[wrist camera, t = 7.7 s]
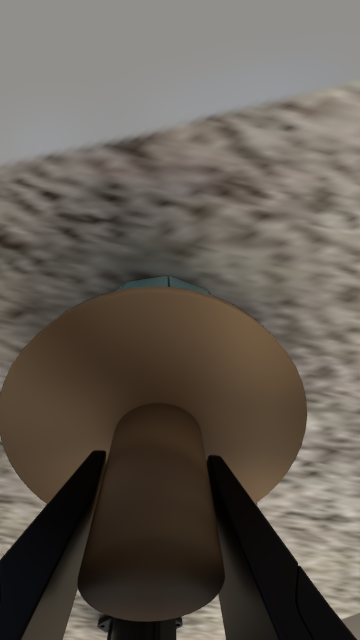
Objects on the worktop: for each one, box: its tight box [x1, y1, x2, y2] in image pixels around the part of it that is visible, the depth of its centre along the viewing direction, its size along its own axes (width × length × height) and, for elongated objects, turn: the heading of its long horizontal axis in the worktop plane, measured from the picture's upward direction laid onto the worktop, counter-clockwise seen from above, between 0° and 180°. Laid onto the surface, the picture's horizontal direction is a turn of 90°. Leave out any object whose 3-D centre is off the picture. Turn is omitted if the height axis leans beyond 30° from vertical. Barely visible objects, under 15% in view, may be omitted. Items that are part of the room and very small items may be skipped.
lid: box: [0, 286, 307, 622], centre depth 8 cm, size 11×11×5 cm
